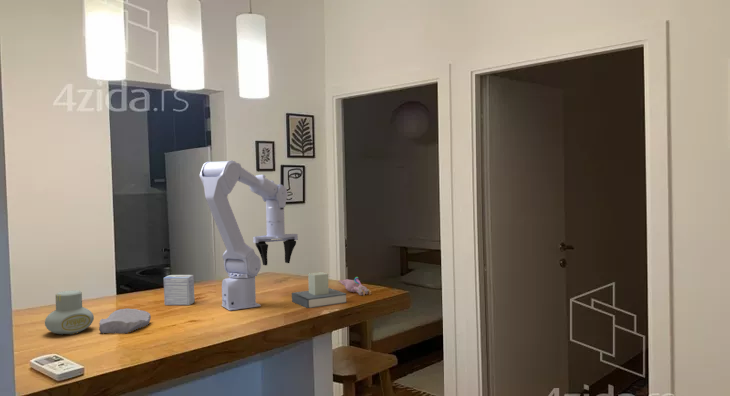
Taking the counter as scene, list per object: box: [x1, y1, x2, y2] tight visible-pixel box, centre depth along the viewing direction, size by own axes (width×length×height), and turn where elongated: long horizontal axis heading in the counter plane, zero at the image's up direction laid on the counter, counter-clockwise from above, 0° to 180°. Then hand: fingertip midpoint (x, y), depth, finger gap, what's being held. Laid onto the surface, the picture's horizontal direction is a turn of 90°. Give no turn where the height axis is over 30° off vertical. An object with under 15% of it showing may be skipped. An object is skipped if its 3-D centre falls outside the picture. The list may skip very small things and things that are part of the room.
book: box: [291, 287, 347, 309], centre depth 173 cm, size 13×11×3 cm
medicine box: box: [163, 274, 195, 306], centre depth 174 cm, size 8×4×9 cm, turn 84°
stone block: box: [98, 308, 152, 334], centre depth 146 cm, size 12×5×10 cm
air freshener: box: [44, 289, 95, 335], centre depth 143 cm, size 11×8×10 cm
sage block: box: [307, 271, 329, 295], centre depth 173 cm, size 4×4×6 cm
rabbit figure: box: [338, 276, 372, 297], centre depth 186 cm, size 6×6×15 cm
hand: (276, 263), depth 183 cm, fingers open, 7 cm apart
